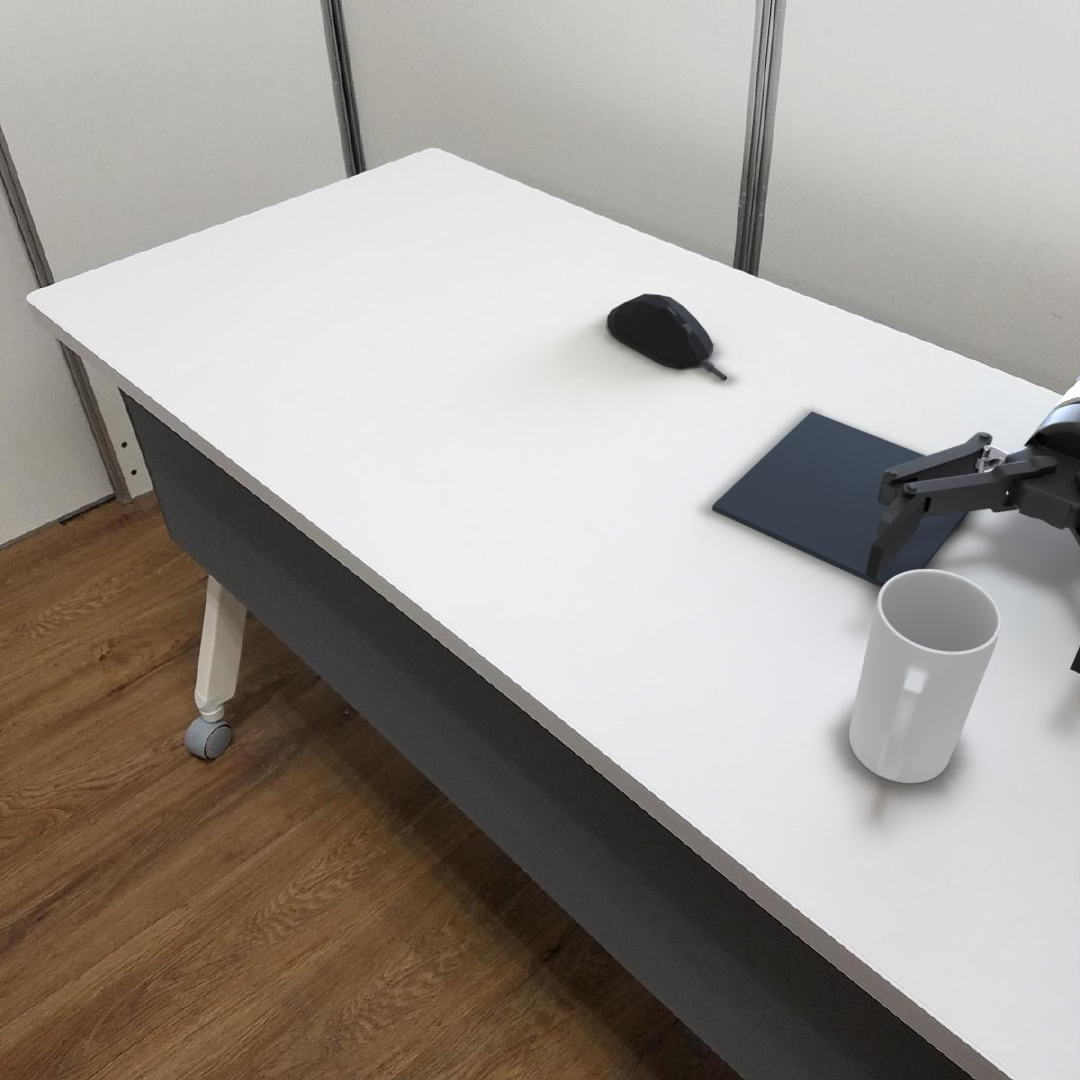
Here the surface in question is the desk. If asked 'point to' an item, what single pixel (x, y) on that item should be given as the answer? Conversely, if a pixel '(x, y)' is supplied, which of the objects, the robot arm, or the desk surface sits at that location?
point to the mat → (831, 498)
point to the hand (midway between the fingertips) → (972, 608)
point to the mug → (921, 672)
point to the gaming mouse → (662, 331)
